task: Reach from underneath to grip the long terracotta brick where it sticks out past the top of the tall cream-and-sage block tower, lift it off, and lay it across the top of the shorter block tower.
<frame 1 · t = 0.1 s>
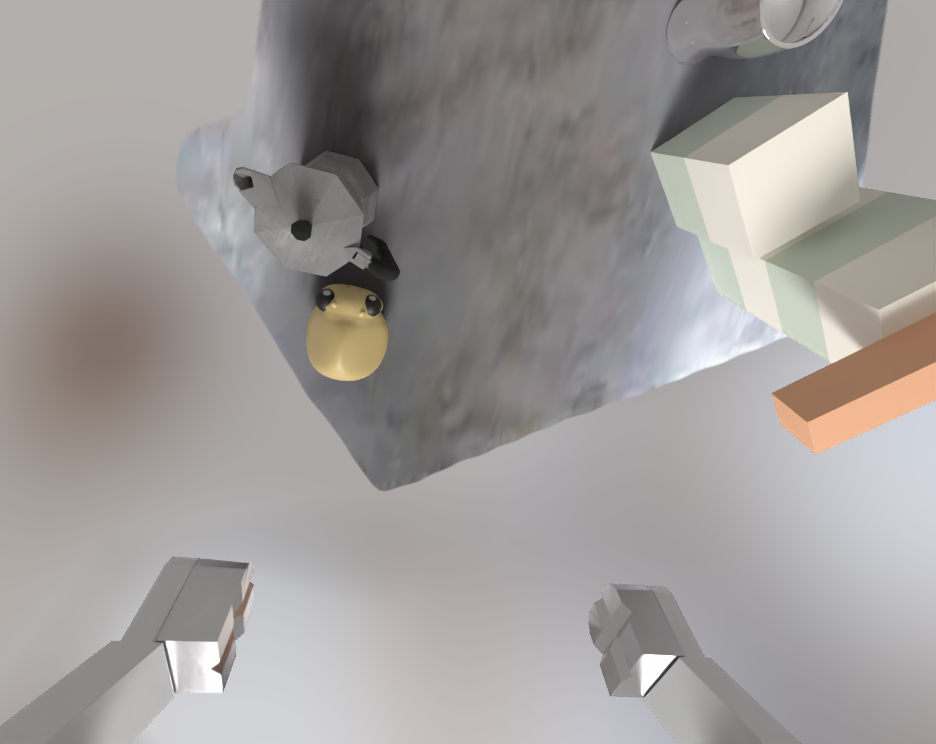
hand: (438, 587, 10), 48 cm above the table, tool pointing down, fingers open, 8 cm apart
yellow toy figurine: (354, 313, 57), on the table
long brick: (897, 350, 35), point 26 cm above the table, touching tall tower
tall tower: (750, 237, 56), on the table
short tower: (703, 166, 51), on the table
coffeepot: (347, 200, 50), on the table
beer glass: (694, 28, 45), on the table
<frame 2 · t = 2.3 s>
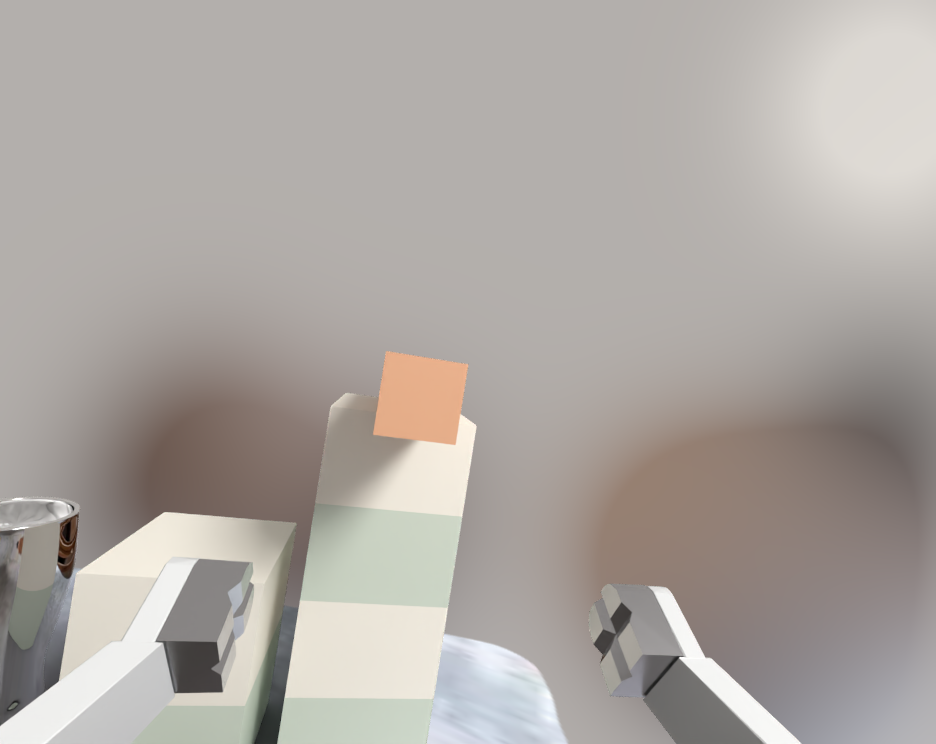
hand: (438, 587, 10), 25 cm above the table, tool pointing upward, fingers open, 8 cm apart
long brick: (405, 414, 31), point 26 cm above the table, touching tall tower
tall tower: (352, 720, 35), on the table
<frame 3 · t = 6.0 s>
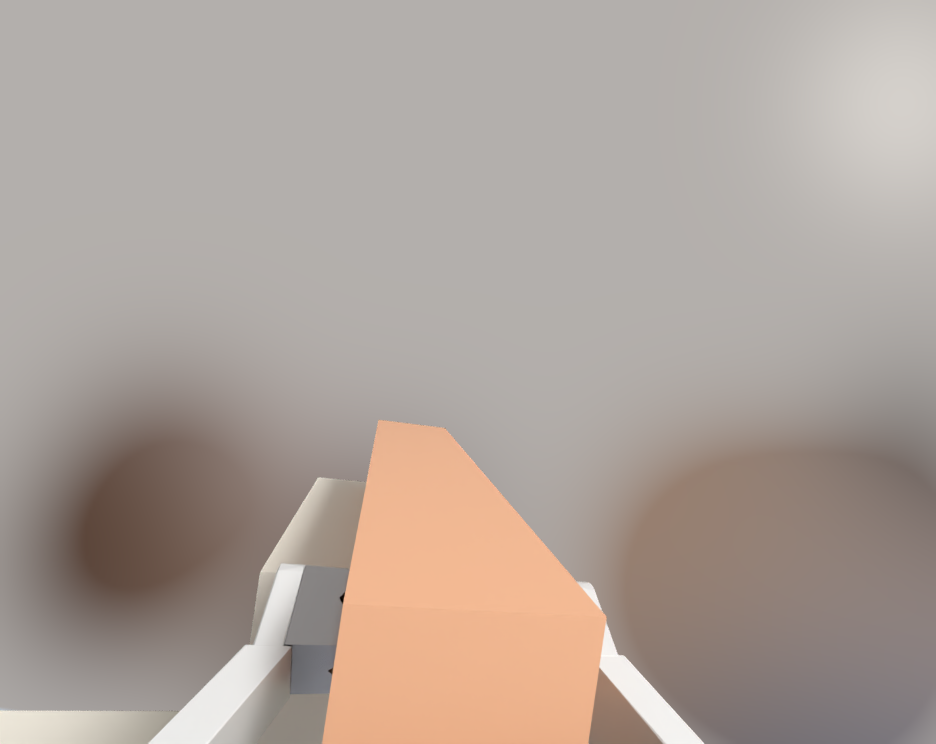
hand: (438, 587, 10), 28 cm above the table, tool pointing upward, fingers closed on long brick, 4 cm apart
long brick: (410, 566, 16), point 26 cm above the table, touching gripper, tall tower
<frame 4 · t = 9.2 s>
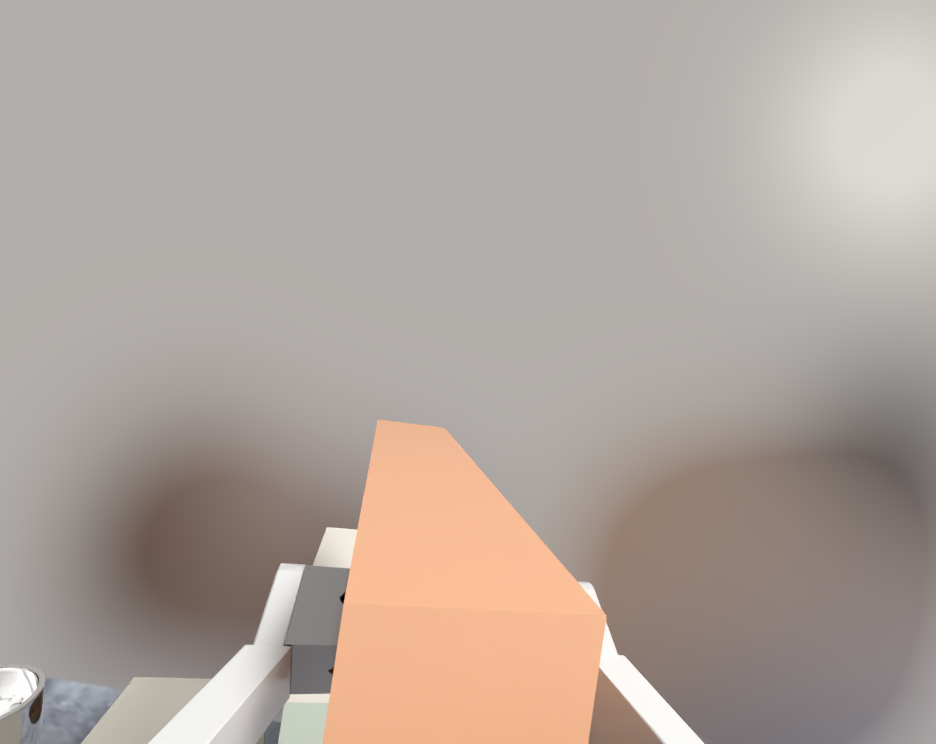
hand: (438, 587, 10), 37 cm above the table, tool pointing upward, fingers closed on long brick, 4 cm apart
long brick: (409, 566, 16), point 34 cm above the table, touching gripper
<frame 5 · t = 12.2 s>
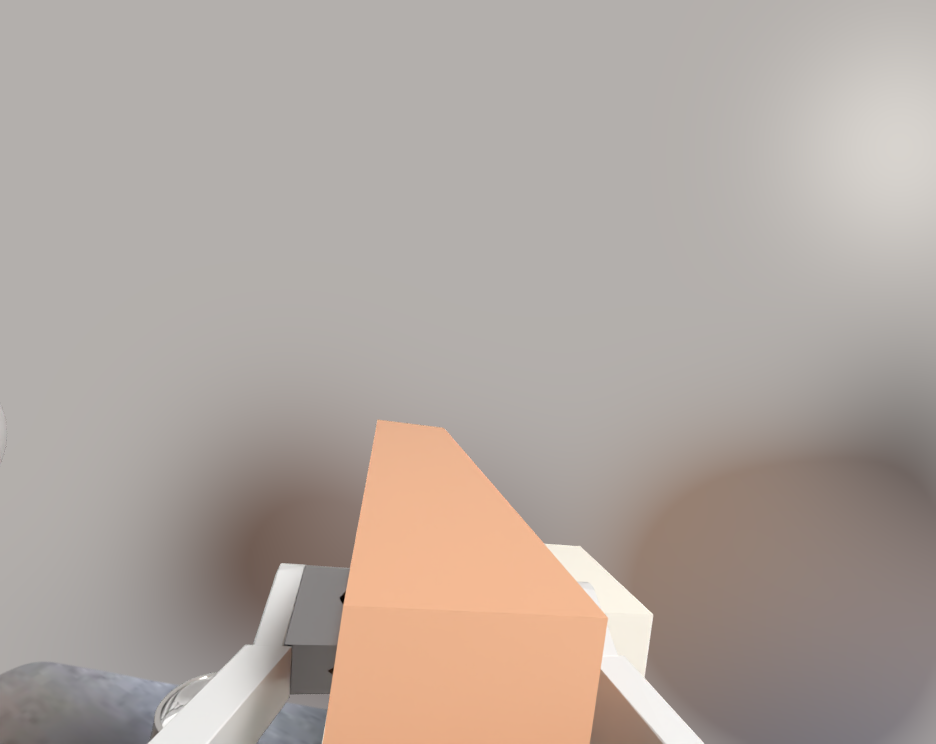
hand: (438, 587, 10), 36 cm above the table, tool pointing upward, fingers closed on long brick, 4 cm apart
long brick: (409, 566, 16), point 34 cm above the table, touching gripper
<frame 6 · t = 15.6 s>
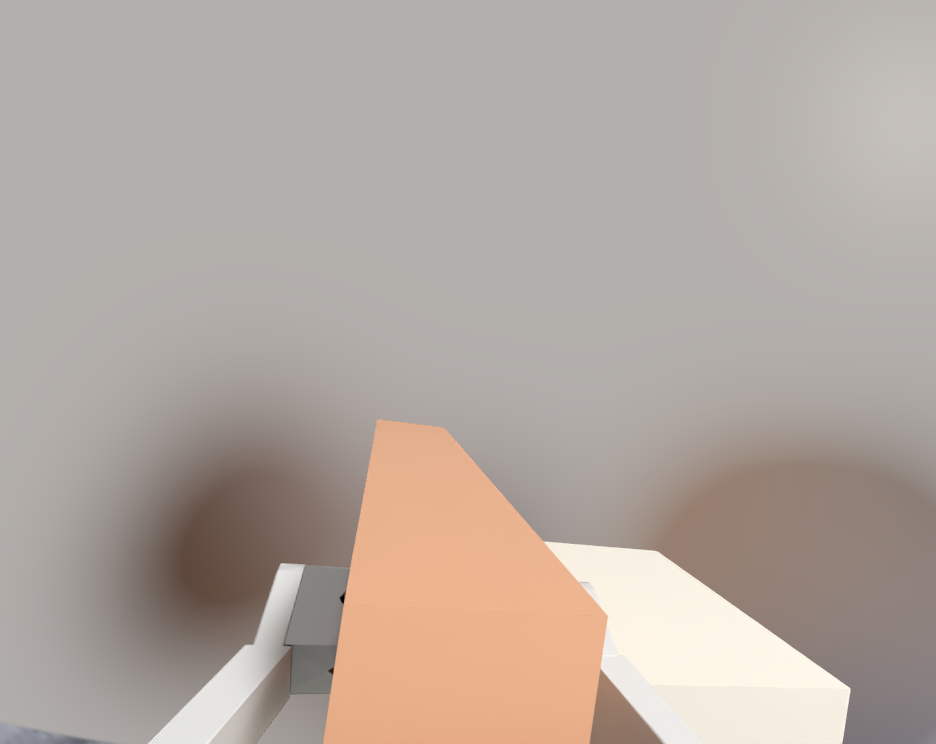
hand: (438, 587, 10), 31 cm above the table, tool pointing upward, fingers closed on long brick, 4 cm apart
long brick: (409, 566, 16), point 28 cm above the table, touching gripper
when the fingers open (19 cm above the table, at t = 18.5 s): long brick drops 2 cm, resting on short tower.
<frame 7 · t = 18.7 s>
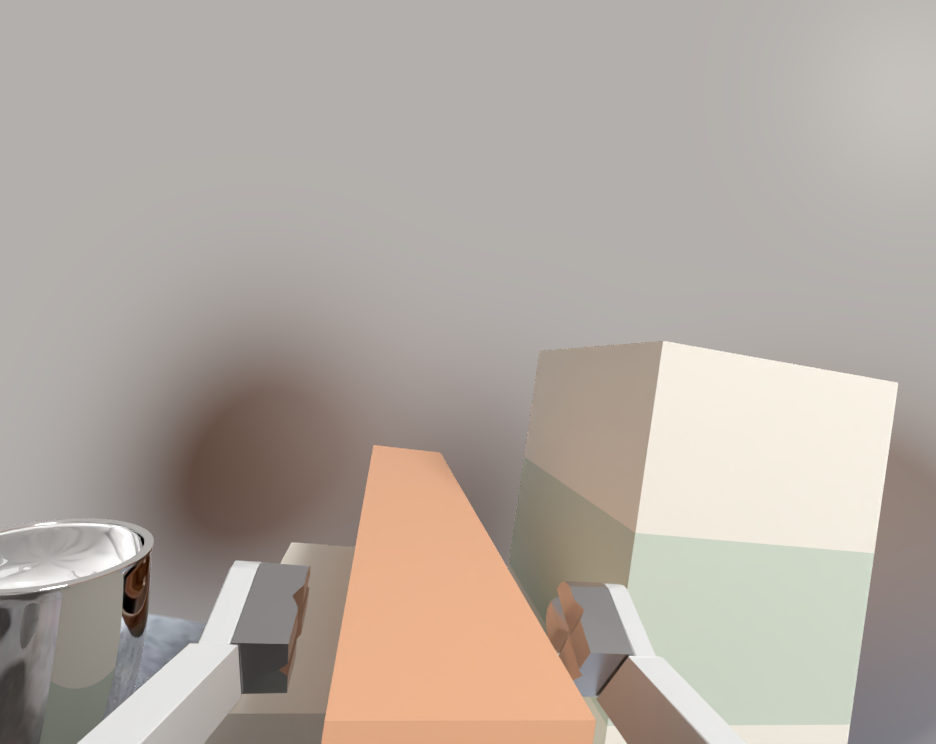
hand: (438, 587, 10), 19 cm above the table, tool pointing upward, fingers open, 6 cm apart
long brick: (403, 608, 16), point 15 cm above the table, touching short tower
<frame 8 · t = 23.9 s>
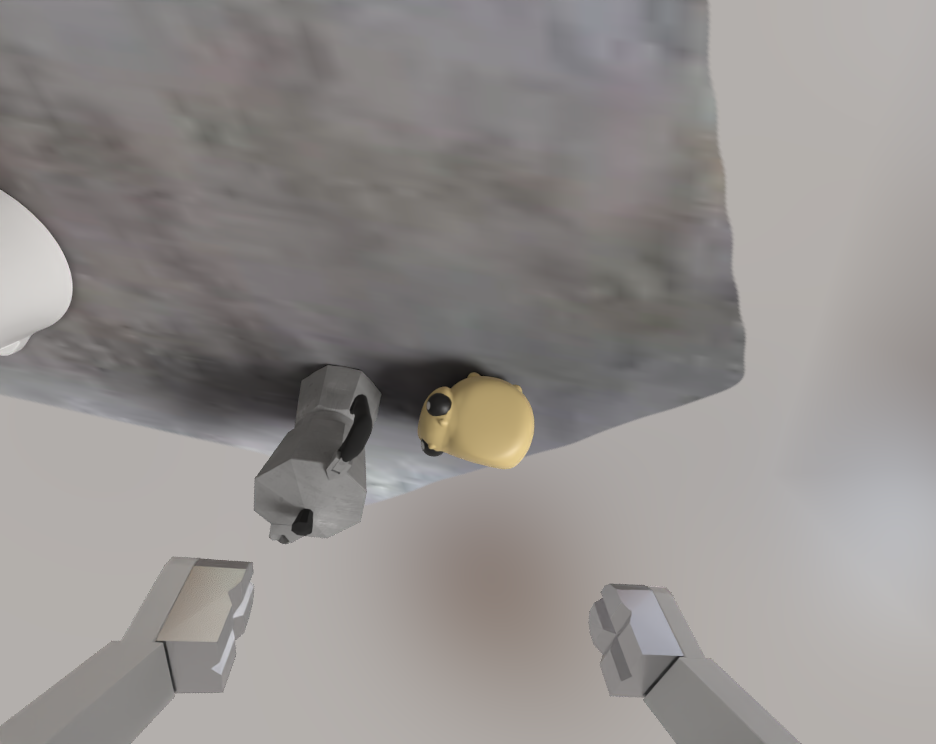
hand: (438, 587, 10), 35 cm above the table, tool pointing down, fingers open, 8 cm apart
yellow toy figurine: (471, 393, 50), on the table
coffeepot: (345, 391, 48), on the table
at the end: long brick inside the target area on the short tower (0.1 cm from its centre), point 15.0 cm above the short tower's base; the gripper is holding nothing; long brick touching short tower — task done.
